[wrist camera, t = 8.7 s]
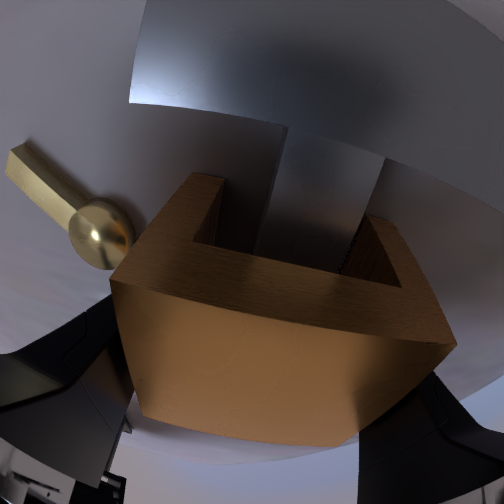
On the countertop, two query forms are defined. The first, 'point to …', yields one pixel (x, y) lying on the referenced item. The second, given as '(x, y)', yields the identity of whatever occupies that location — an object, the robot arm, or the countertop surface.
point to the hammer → (335, 101)
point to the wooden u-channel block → (271, 329)
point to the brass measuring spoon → (74, 210)
